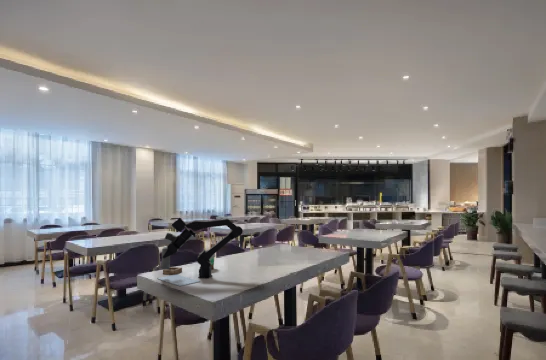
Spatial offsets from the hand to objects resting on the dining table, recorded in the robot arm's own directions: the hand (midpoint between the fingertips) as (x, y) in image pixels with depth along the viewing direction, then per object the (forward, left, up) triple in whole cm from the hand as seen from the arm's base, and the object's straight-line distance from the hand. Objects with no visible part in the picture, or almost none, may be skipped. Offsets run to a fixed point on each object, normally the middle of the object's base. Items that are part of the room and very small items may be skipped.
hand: (163, 257), depth 181 cm
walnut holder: (+3, -16, -12) cm, 20 cm away
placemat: (-10, +1, -12) cm, 16 cm away
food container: (-16, -31, -13) cm, 37 cm away
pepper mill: (-1, -1, -7) cm, 7 cm away
